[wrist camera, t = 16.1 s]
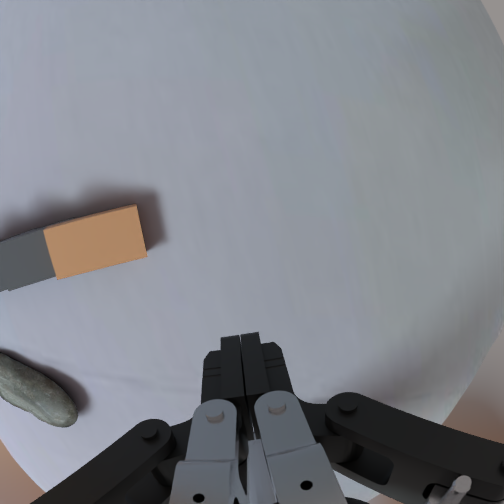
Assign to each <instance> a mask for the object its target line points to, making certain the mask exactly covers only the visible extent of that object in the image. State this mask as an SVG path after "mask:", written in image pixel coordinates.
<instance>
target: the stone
mask: <svg viewBox="0 0 504 504" xmlns="http://www.w3.org/2000/svg"><path fill="white" fill-rule="evenodd" d="M0 396H1V397H2V398H3V399H4V400H5V401H7V402H9V403H10V404H12V405H13V406H16V407H18V408H21V409H22V410H24V411H27V412H30V413H32V414H33V415H34V416H35V417H37V418H38V419H39V420H41V421H43V422H46V423H48V424H50V425H53V426H56V427H69V426H71V425H73V424H74V423H75V422H76V421H77V418H78V412H77V408H76V406H75V404H74V402H73V401H72V400H71V398H70V397H69V396H68V395H67V394H66V392H65V391H64V390H63V389H62V388H60V387H59V386H58V385H57V384H56V383H55V382H53V381H52V380H51V379H49V378H47V377H46V376H45V375H43V374H41V373H40V372H38V371H36V370H34V369H32V368H30V367H28V366H26V365H24V364H22V363H20V362H18V361H15V360H13V359H12V358H10V357H8V356H6V355H5V354H2V353H0Z"/></svg>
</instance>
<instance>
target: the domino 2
mask: <svg viewBox="0 0 504 504" xmlns="http://www.w3.org/2000/svg"><path fill="white" fill-rule="evenodd" d="M43 232H44V235H45V239H46V243H47V247H48V250H49V254H50V257H51V261H52V264H53V267H54V271H55V274H56V277H57V280H59V279H62V278H66V277H70V276H74V275H78V274H82V273H85V272H89V271H93V270H97V269H101V268H105V267H109V266H113V265H117V264H121V263H125V262H129V261H133V260H137V259H141V258H145V257H147V252H146V248H145V243H144V239H143V234H142V230H141V225H140V220H139V215H138V210H137V205H136V204H132V205H128V206H124V207H120V208H115V209H111V210H107V211H103V212H99V213H95V214H92V215H88V216H84V217H80V218H76V219H73V220H69V221H65V222H62V223H58V224H55V225H51V226H47V227H46V228H45V229H44V230H43Z"/></svg>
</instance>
